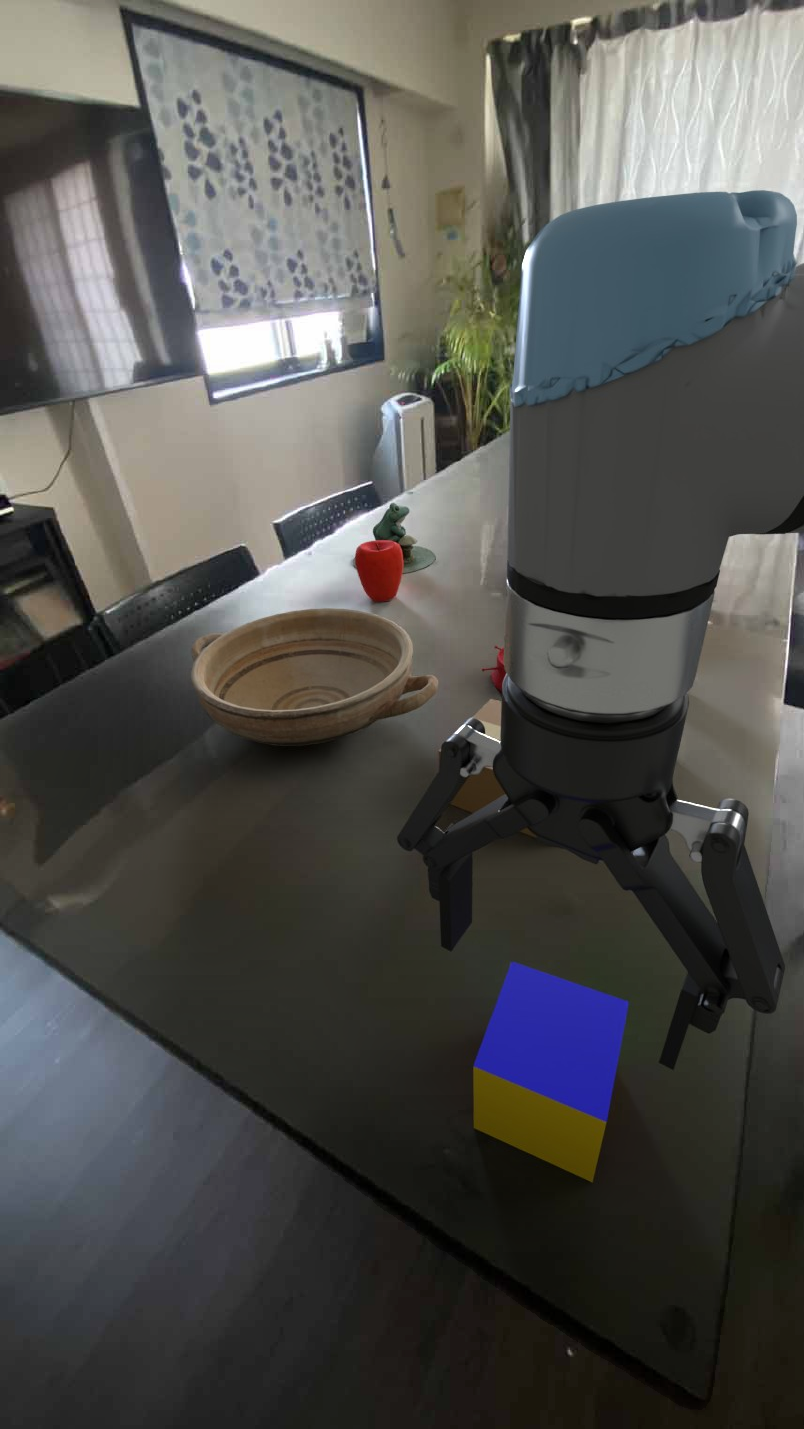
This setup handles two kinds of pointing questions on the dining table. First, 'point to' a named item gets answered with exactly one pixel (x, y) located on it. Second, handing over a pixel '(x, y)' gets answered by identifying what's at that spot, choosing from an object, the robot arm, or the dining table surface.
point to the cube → (549, 1068)
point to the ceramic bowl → (307, 675)
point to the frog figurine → (402, 539)
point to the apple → (379, 568)
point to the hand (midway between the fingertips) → (555, 985)
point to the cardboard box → (484, 784)
